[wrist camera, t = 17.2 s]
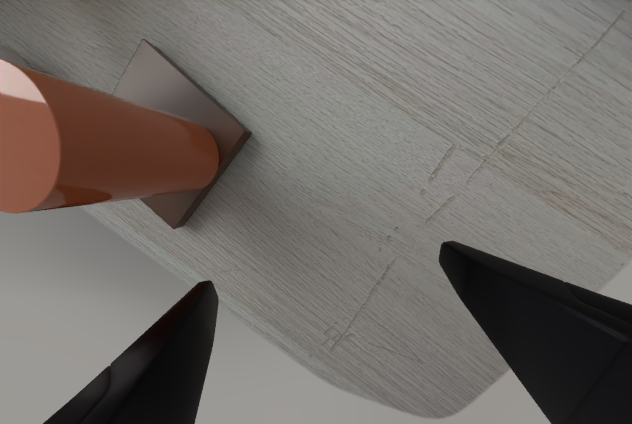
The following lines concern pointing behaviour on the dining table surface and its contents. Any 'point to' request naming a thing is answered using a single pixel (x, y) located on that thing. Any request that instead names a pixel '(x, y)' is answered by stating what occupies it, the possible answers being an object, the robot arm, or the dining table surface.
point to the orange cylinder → (91, 145)
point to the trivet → (186, 101)
